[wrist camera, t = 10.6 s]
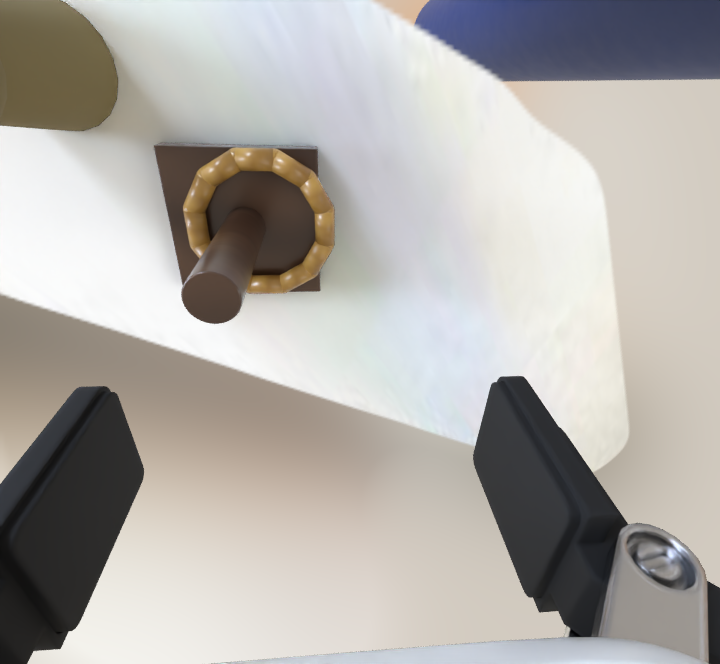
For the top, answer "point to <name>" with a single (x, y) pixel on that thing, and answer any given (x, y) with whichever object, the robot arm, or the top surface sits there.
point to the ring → (286, 169)
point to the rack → (236, 227)
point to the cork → (53, 68)
